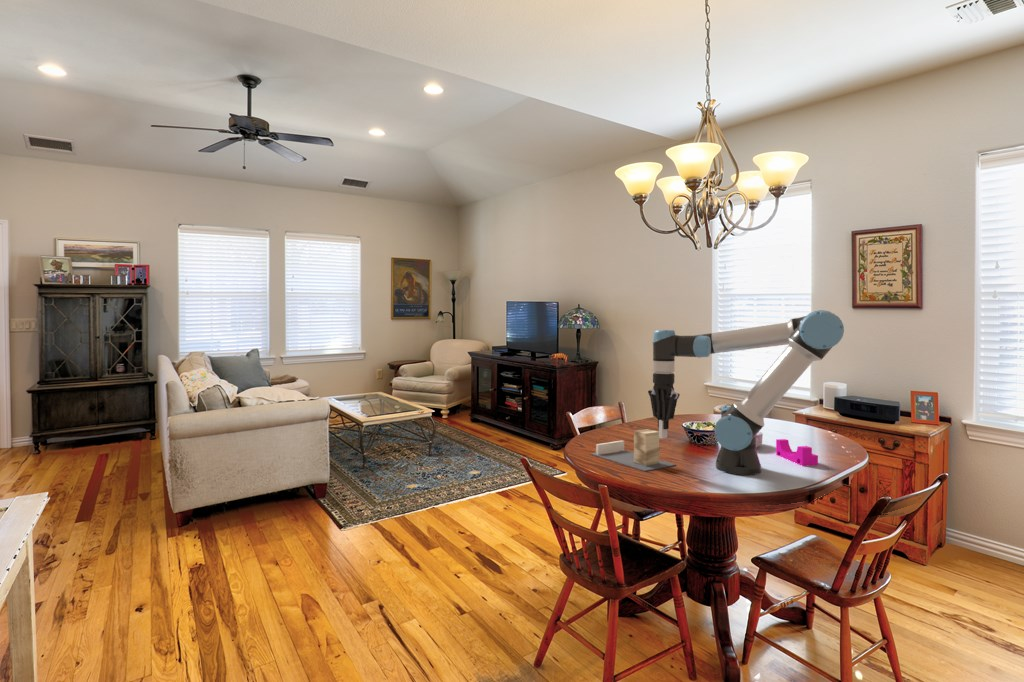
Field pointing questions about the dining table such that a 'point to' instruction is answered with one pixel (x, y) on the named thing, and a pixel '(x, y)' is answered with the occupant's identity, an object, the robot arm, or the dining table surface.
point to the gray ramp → (631, 460)
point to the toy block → (796, 453)
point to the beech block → (646, 447)
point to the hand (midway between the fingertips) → (663, 437)
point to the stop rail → (609, 447)
